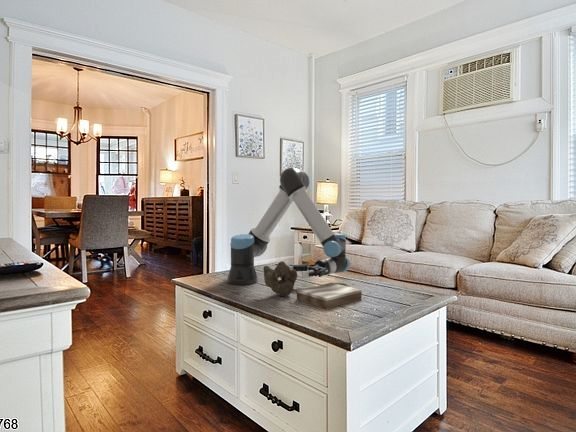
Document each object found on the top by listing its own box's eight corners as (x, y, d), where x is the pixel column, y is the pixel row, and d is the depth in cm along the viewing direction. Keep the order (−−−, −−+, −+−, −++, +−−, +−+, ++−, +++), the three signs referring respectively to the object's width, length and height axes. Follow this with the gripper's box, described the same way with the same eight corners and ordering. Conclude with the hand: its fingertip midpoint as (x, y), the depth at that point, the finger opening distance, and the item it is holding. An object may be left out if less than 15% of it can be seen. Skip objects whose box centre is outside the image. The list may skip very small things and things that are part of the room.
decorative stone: (271, 300, 150) (271, 264, 149) (257, 294, 159) (257, 260, 158) (301, 294, 159) (302, 260, 159) (287, 289, 168) (287, 257, 168)
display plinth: (296, 299, 151) (296, 289, 151) (331, 291, 165) (331, 282, 165) (326, 308, 139) (326, 298, 138) (361, 299, 152) (361, 289, 152)
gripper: (344, 279, 167) (311, 286, 153) (306, 271, 186) (274, 276, 172) (344, 262, 167) (311, 268, 153) (306, 256, 186) (274, 260, 172)
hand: (291, 272), depth 163 cm, fingers open, 13 cm apart
